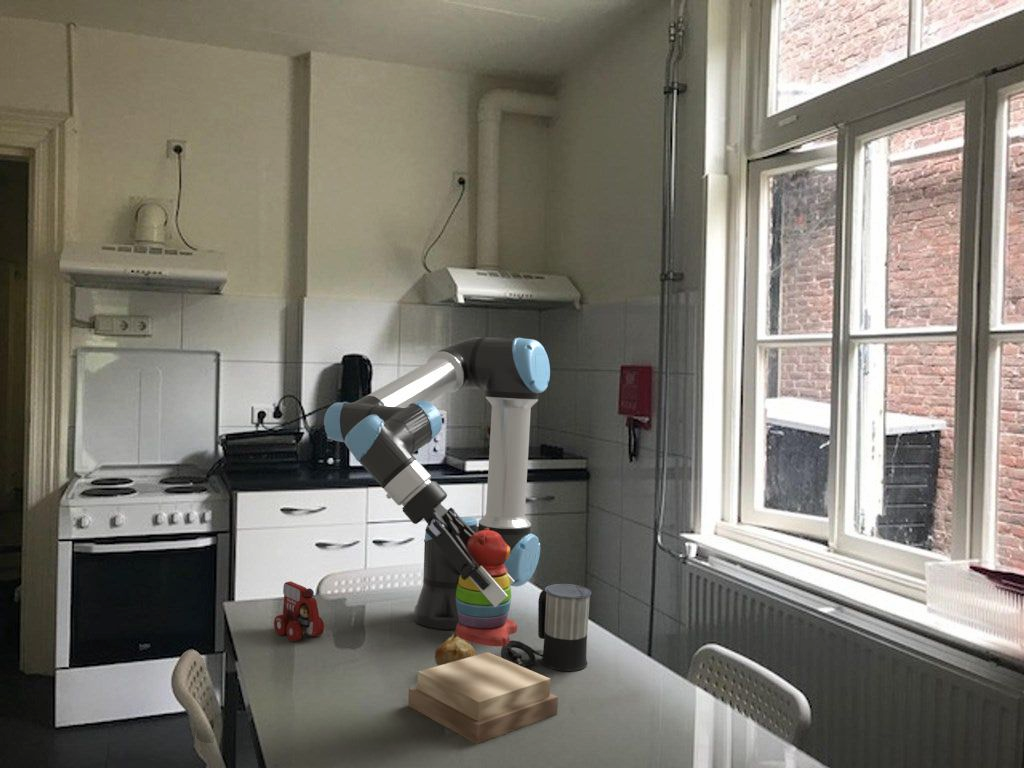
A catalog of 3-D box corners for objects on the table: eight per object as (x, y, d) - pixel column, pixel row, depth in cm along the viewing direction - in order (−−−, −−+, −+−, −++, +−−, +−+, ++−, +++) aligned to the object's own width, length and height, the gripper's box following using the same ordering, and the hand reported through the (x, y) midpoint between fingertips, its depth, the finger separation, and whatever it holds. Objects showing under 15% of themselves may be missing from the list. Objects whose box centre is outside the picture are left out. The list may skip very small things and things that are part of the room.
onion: (428, 667, 160) (430, 626, 160) (468, 663, 163) (469, 623, 163) (440, 682, 153) (442, 639, 153) (481, 677, 156) (483, 635, 156)
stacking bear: (506, 648, 134) (511, 539, 134) (446, 641, 136) (451, 533, 136) (519, 628, 145) (524, 527, 144) (463, 622, 147) (467, 522, 147)
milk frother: (597, 664, 165) (600, 591, 165) (544, 684, 154) (548, 605, 154) (544, 645, 175) (547, 576, 175) (490, 663, 164) (494, 588, 163)
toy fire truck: (300, 646, 168) (302, 595, 168) (269, 631, 177) (271, 582, 177) (329, 639, 173) (331, 590, 173) (298, 624, 182) (300, 577, 182)
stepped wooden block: (487, 681, 154) (488, 649, 154) (557, 714, 141) (558, 679, 141) (408, 705, 142) (409, 671, 142) (476, 744, 129) (478, 706, 128)
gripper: (415, 498, 153) (497, 591, 151) (383, 518, 131) (478, 627, 130) (445, 471, 152) (527, 564, 150) (418, 487, 131) (514, 596, 129)
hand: (505, 593), depth 140 cm, fingers closed on stacking bear, 9 cm apart
